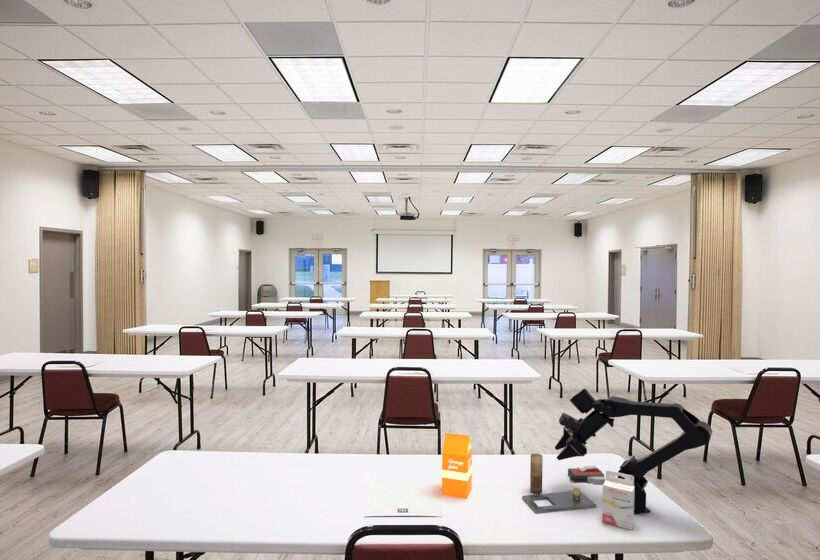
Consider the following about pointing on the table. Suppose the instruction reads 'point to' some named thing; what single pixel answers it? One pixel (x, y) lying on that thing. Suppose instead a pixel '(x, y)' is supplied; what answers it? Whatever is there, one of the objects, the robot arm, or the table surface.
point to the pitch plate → (560, 501)
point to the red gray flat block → (586, 475)
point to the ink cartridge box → (618, 500)
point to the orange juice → (457, 465)
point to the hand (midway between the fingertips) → (556, 453)
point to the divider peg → (536, 474)
